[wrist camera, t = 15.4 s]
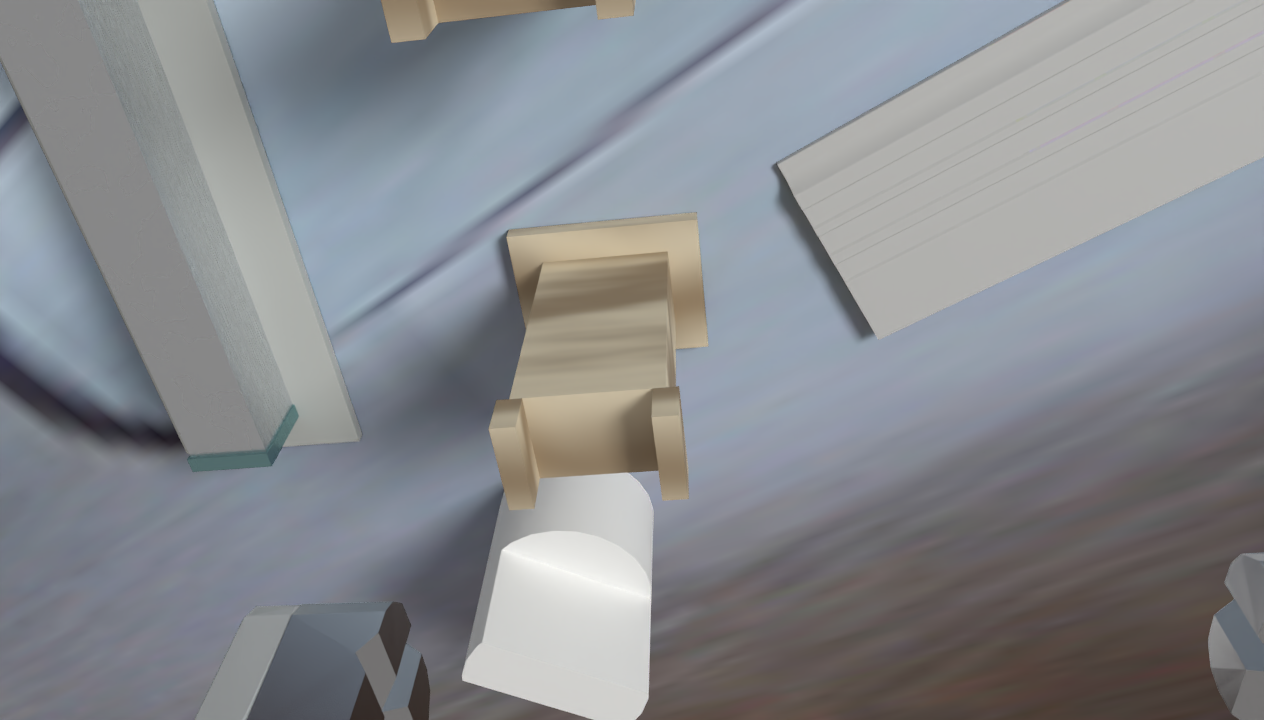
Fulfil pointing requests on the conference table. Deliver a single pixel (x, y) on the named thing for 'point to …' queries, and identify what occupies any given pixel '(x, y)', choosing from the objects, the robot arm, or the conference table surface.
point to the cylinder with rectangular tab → (569, 599)
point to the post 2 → (600, 352)
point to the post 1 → (478, 12)
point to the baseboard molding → (1033, 148)
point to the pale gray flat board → (247, 214)
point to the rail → (150, 221)
